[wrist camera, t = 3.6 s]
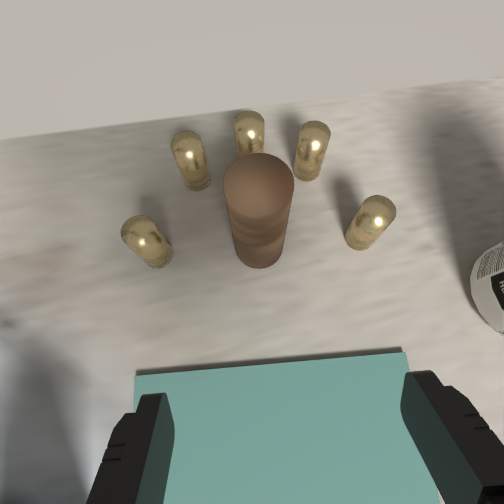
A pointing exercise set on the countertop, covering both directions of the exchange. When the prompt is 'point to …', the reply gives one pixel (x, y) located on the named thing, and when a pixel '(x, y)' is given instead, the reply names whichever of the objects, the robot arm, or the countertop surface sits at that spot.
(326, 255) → the countertop surface
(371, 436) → the teal mat
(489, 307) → the supplement can
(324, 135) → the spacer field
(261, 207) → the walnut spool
